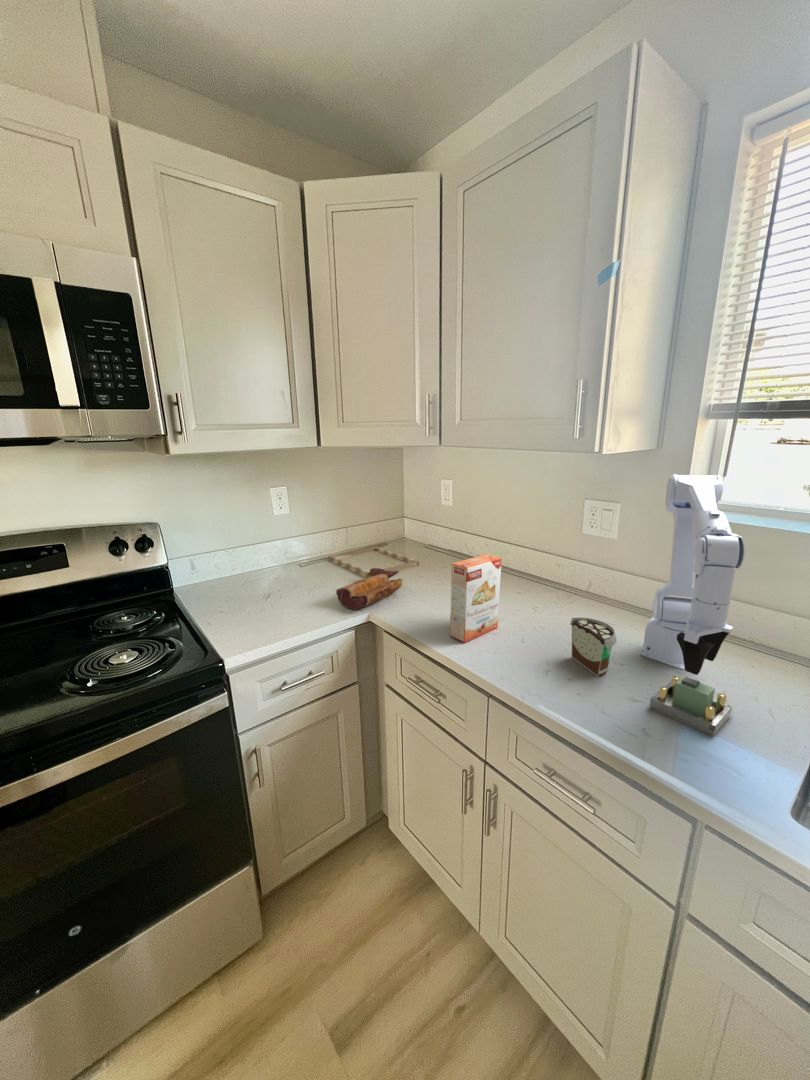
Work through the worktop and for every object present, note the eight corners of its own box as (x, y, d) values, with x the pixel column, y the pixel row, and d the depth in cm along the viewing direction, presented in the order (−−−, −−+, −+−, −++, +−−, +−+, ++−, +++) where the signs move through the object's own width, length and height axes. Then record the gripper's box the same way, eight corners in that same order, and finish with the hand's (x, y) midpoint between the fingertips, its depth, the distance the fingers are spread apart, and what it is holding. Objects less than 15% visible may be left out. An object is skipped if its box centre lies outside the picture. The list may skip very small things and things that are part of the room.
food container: (625, 676, 99) (630, 635, 97) (602, 680, 98) (607, 639, 95) (588, 650, 111) (592, 613, 108) (567, 654, 109) (570, 617, 107)
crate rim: (329, 562, 188) (328, 556, 187) (375, 552, 202) (375, 546, 202) (369, 581, 164) (369, 573, 164) (419, 568, 179) (418, 561, 178)
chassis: (649, 708, 88) (652, 687, 87) (668, 691, 93) (671, 672, 92) (713, 736, 79) (717, 714, 78) (730, 716, 85) (734, 695, 84)
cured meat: (376, 564, 162) (377, 582, 163) (326, 583, 142) (327, 603, 144) (416, 573, 151) (416, 592, 153) (367, 595, 132) (368, 616, 133)
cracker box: (465, 644, 115) (467, 567, 110) (449, 636, 120) (449, 562, 114) (499, 628, 124) (502, 557, 119) (483, 622, 128) (485, 552, 123)
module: (672, 705, 87) (675, 680, 86) (679, 698, 89) (683, 673, 88) (703, 718, 83) (708, 692, 81) (710, 711, 85) (715, 685, 84)
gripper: (721, 616, 74) (709, 688, 77) (749, 595, 82) (737, 661, 86) (676, 604, 79) (666, 671, 83) (706, 585, 88) (696, 647, 91)
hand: (699, 665), depth 85 cm, fingers open, 7 cm apart
